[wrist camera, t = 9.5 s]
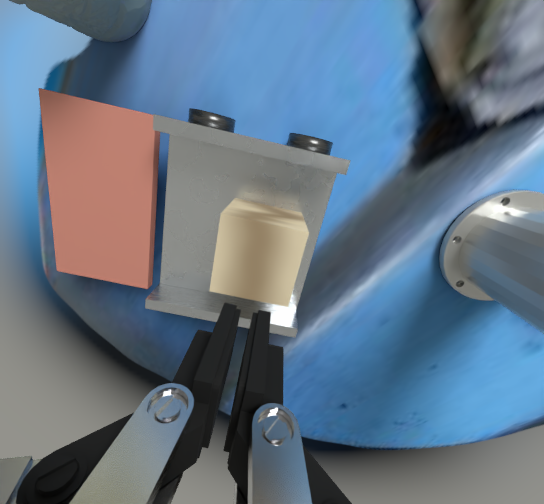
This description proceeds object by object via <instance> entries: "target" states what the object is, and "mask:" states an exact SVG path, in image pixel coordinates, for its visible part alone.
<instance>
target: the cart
mask: <svg viewBox="0 0 544 504" xmlns="http://www.w3.org/2000/svg"><path fill="white" fill-rule="evenodd" d="M234 127H235V120H234V119H231V118H228V117H225V116H222V115H218V114H214V113H211V112H206V111H202V110H197V109H191V108H190V109H189V119H188V122H184V121H180V120H176V119H172V118H168V117H163V116H159V115H155V114H154V115H153V130H155V131H159V132H164V133H168V134H170V137H169V153H168V168H167V184H166V199H165V215H164V230H163V245H162V261H161V276H160V284H159V285H158V286H157V287H156V288H155V289H154V290H153V291H152V293H151V294H150V295H149V296H148V297H147V298H146V303H145V308H146V309H152V310H157V311H162V312H167V313H172V314H177V315H182V316H188V317H193V318H198V319H203V320H208V321H213V322H217V320H218V318H219V315H220V312H221V310H222V307H223V305H224V303H229V304H234V305H237V309H241V313H240V318H239V322H238V326H239V327H244V328H250V323H251V319H252V315H253V312H255V313H258V310H262V311H267V312H271V319H270V331H269V332H270V333H275V334H280V335H285V336H290V337H296V333H297V330H298V325H297V316H296V308H297V305H298V302H299V298H300V295H301V292H302V288H303V285H304V281H305V278H306V275H307V271H308V268H309V265H310V261H311V258H312V255H313V251H314V248H315V245H316V241H317V238H318V235H319V231H320V228H321V225H322V221H323V218H324V215H325V211H326V208H327V204H328V201H329V198H330V194H331V191H332V188H333V184H334V181H335V178H336V174H337V173H340V174H344V175H346V173H347V170H348V167H349V163H350V160H345V159H341V158H337V157H333V156H329V155H330V151H331V148H332V144H333V143H332V142H329V141H326V140H323V139H319V138H315V137H311V136H306V135H301V134H296V133H290V134H289V139H288V143H287V146H286V145H282V144H278V143H273V142H269V141H265V140H261V139H256V138H252V137H248V136H244V135H240V134H235V133H234ZM235 198H238V199H242V200H247V201H251V202H256V203H260V204H265V205H269V206H274V207H278V208H283V209H287V210H292V211H296V212H301V213H302V215H303V217H304V220H305V223H306V226H307V228H308V231H309V235H308V239H307V242H306V246H305V249H304V253H303V256H302V260H301V263H300V267H299V270H298V274H297V277H296V281H295V284H294V288H293V291H292V295H291V298H290V302H289V306H288V307H285V306H280V305H275V304H270V303H265V302H260V301H255V300H250V299H245V298H240V297H236V296H231V295H226V294H221V293H216V292H211V291H209V290H210V283H211V277H212V270H213V263H214V256H215V249H216V243H217V236H218V229H219V222H220V215H221V213H222V212H223V211H224V209H225V208H226V207H227V206H228V205H229V204H230V203H231V202H232V201H233V200H234V199H235Z"/></svg>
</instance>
